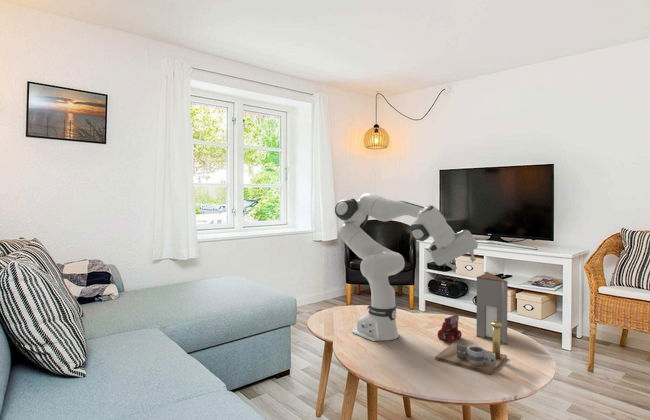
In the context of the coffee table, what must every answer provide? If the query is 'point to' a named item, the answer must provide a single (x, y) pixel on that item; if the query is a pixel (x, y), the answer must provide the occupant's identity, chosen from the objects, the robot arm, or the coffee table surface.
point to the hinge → (476, 355)
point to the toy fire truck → (450, 329)
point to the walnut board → (451, 357)
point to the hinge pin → (496, 338)
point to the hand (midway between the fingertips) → (464, 264)
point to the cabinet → (491, 306)
